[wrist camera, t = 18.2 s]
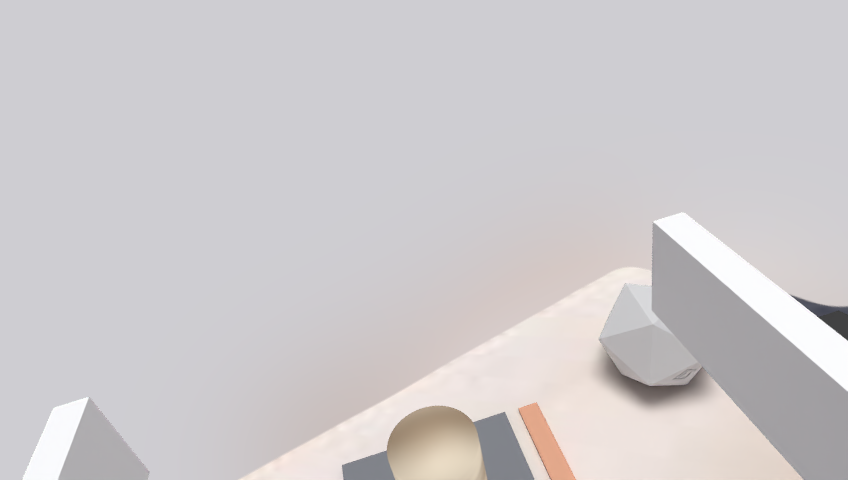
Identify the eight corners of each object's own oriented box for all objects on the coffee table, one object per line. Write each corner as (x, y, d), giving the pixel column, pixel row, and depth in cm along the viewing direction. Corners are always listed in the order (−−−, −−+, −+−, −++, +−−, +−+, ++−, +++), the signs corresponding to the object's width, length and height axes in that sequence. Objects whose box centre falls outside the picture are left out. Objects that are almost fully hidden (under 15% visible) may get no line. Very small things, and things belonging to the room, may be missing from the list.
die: (662, 432, 44) (747, 345, 40) (567, 364, 46) (638, 273, 42) (669, 383, 51) (742, 304, 47) (587, 325, 53) (649, 244, 49)
